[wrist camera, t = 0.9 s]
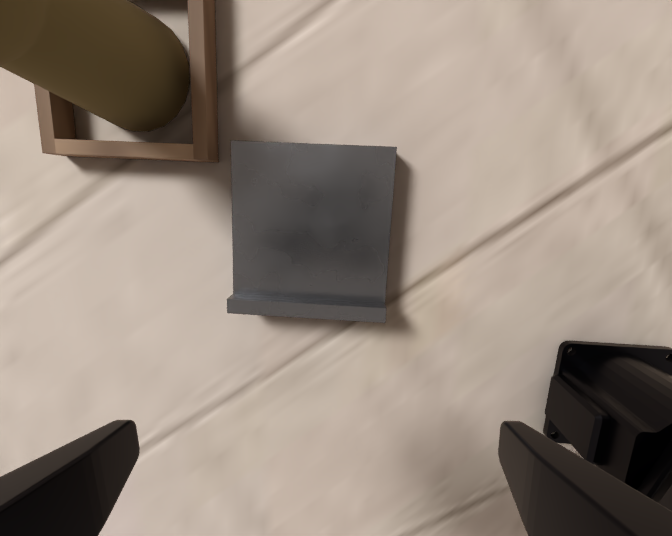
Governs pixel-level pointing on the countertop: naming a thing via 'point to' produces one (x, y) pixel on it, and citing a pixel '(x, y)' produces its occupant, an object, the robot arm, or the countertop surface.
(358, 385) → the countertop surface
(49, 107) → the socket collar
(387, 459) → the countertop surface
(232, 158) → the gray hardcover book
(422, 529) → the countertop surface
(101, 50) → the cork
